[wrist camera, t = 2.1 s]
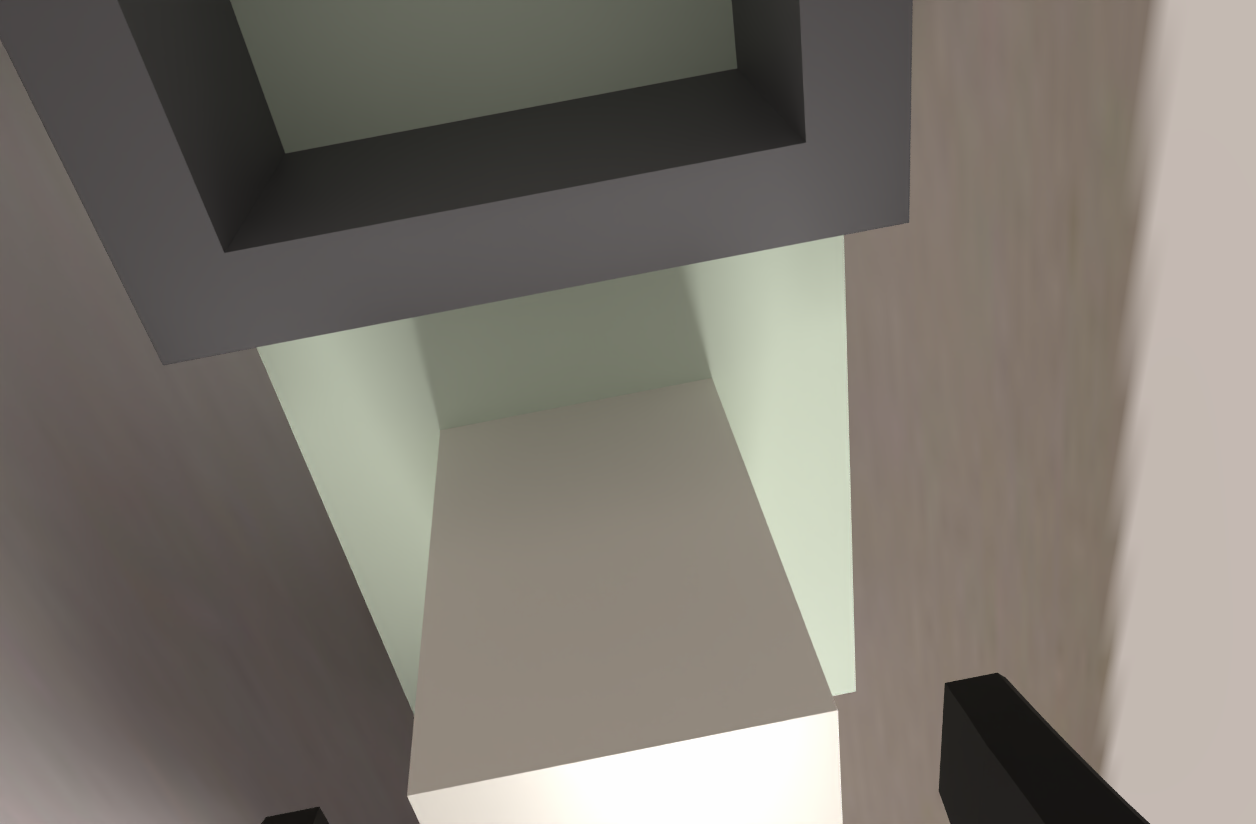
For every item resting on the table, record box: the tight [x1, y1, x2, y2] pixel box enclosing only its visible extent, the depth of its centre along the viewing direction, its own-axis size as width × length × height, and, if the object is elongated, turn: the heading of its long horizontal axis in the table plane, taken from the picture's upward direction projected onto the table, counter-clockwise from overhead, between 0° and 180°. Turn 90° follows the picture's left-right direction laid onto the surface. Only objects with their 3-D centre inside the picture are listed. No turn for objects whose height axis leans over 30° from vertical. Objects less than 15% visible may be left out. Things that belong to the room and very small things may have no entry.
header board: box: [0, 0, 912, 714], centre depth 12 cm, size 20×8×4 cm, turn 9°
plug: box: [407, 378, 843, 824], centre depth 12 cm, size 5×4×6 cm
